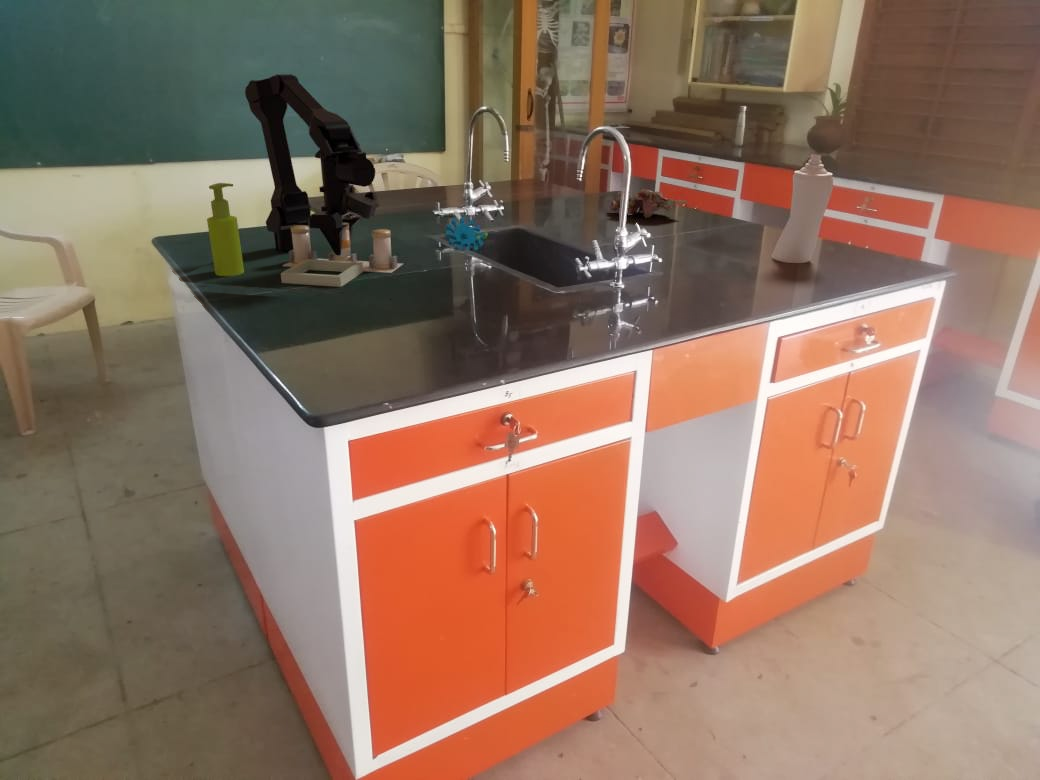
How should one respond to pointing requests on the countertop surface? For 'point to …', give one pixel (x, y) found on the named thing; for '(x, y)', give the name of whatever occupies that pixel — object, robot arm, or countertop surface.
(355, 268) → the tray
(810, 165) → the curved beige bottle
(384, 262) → the fuse right
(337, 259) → the fuse marked
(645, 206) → the mineral formation
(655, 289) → the countertop surface
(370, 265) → the fuse holder
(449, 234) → the gear
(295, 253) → the fuse left
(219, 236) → the soap dispenser
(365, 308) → the countertop surface
